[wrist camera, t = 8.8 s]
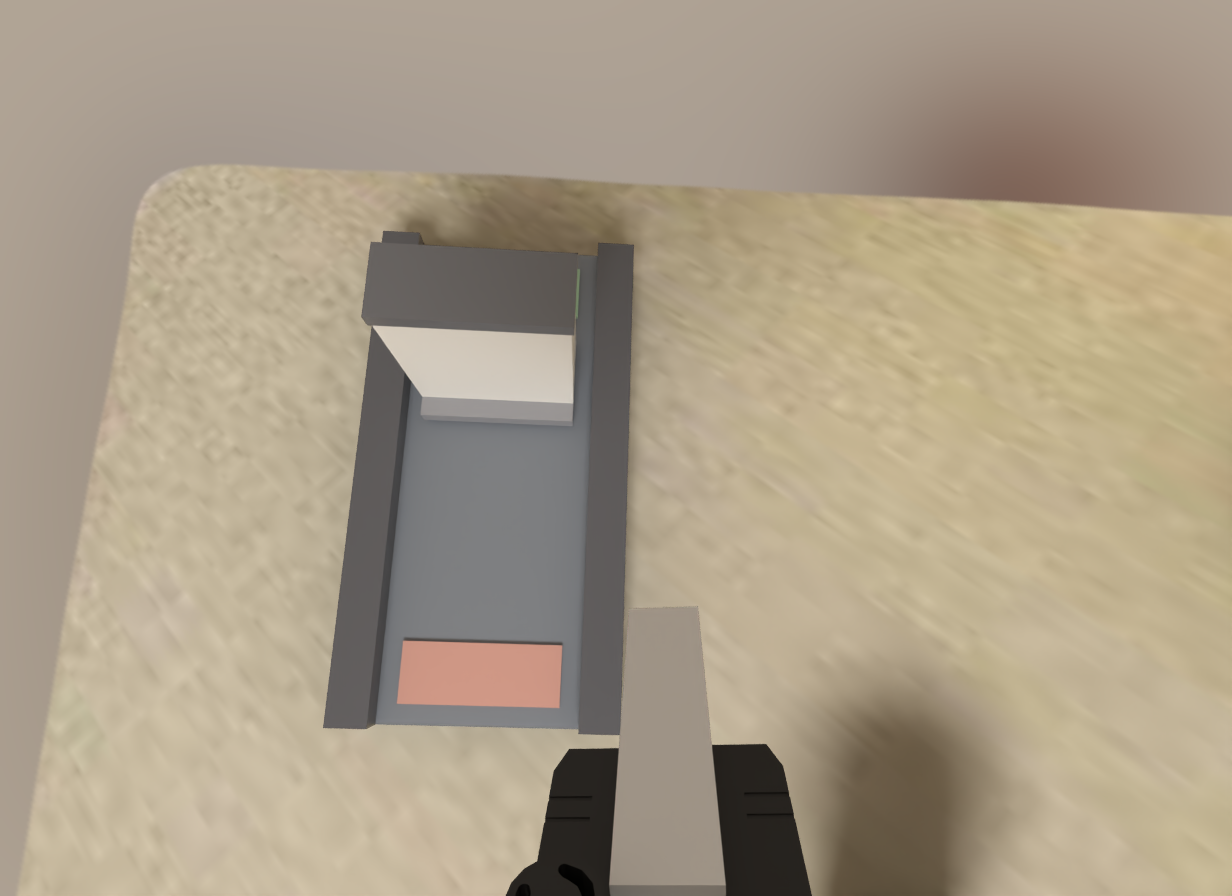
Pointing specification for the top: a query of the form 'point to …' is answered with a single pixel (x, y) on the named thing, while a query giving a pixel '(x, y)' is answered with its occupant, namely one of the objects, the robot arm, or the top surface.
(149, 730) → the top surface
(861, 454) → the top surface
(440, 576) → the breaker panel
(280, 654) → the top surface
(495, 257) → the handle
